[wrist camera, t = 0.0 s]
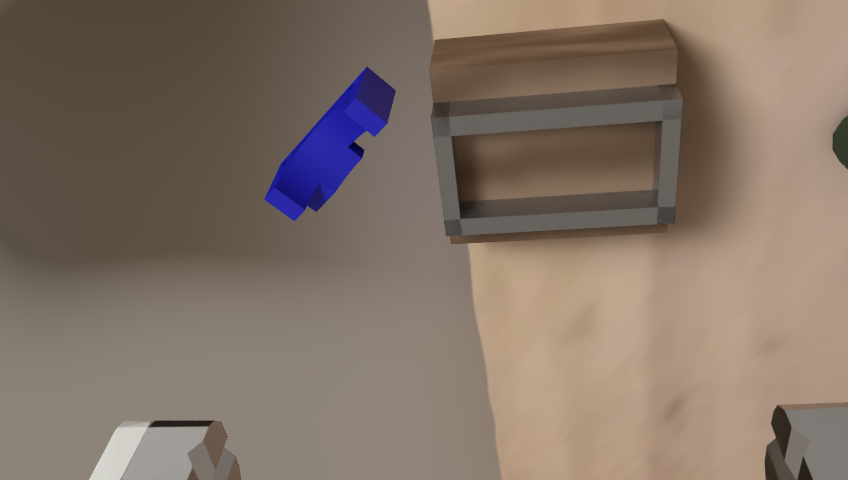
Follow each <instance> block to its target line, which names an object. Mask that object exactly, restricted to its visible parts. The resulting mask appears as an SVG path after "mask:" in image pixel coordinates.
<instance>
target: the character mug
mask: <svg viewBox="0 0 848 480" xmlns="http://www.w3.org/2000/svg"><path fill="white" fill-rule="evenodd" d="M833 151H834V153H835V154H836V156H837V158H838V159H839V161H840V162H841V163H842V164H843V165H844V166H845V167H846V168H847V169H848V116H847V117H845V118H844V119H843V120H842V122H841V123H840V125H839V126H838V128H837V129H836V131H835V132H834V134H833Z"/></svg>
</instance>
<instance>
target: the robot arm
mask: <svg viewBox="0 0 848 480" xmlns="http://www.w3.org/2000/svg"><path fill="white" fill-rule="evenodd" d="M771 425H772V428H773V431H774V433H775V436H776V438H775V439H774V440H773V441H772V442H770V443H769V444H768V445H767V448H766V455H765V478H766V480H848V402H843V403H816V404H789V405H777V407H776V408H775V410H774V411H773V416H772V421H771ZM227 437H228V436H227V433H226V431H225V429H224V427H223V424H222V422H220V421H215V420H211V421H209V420H201V421H200V420H197V421H194V420H189V421H188V420H186V421H185V420H183V421H181V420H175V421H174V420H171V421H170V420H166V421H165V420H157V421H156V420H155V421H125V422H124V423H122V424H121V425H120V426H119V427H118V428H117V429H116V430H115V432H114V434H113V436H112V438H111V440H110V442H109V443H108V445H107V447H106V449H105V451H104V453H103V455H102V456H101V458H100V460H99V462H98V464H97V466H96V468H95V470H94V472H93V474H92V475H91V477H90V479H89V480H241V476H240V468H239V464H238V462H237V459H236V456H235V455H234V454H232V453H231V452H229V451H228V450H227V449H225V448H224V445H225V443H226V440H227Z"/></svg>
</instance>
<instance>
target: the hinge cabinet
mask: <svg viewBox="0 0 848 480" xmlns="http://www.w3.org/2000/svg"><path fill="white" fill-rule="evenodd" d="M677 61H678V48H677V46H676V44H675V42H674V40H673V38H672V36H671V34H670V32H669V30H668V28H667V26H666V25H665V23H664V21H663V19H662V20H651V21H640V22H629V23H617V24H606V25H595V26H584V27H573V28H562V29H551V30H540V31H529V32H518V33H507V34H496V35H485V36H474V37H463V38H452V39H441V40H435V43H434V48H433V54H432V59H431V65H430V70H429V72H430V78H431V79H430V80H431V87H432V96H433V109H432V115H431V122H432V130H433V137H434V145H435V154H436V161H437V168H438V176H439V185H440V192H441V200H442V208H443V216H444V224H445V231H446V236H450V240H451V244H464V243H482V242H500V241H518V240H536V239H554V238H573V237H591V236H609V235H627V234H645V233H663V232H666V231H667V224H672V223H674V219H675V205H676V191H677V177H678V163H679V149H680V134H681V120H682V106H683V98H682V96H681V93H680V91H679V89H678V87H677V85H676V76H677Z"/></svg>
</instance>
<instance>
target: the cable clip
mask: <svg viewBox="0 0 848 480" xmlns="http://www.w3.org/2000/svg"><path fill="white" fill-rule="evenodd" d="M395 91H396V90H395V89H394V88H392V87H391V86H390V85H389V84H388V83H386V82H385V81H384V80H383V79H381V78H380V77H379V76H378V75H377V74H375V73H374V72H373V71H372V70H371V69H369V68H368V67H366V68H365V69H364V70H363V71H362V73H361V74H360V75H359V76H358V77H357V78H356V79H355V80H354V82H353V83H352V84H351V85H350V86H349V87H348V88H347V89H346V91H345V92H344V93H343V94H342V95H341V96H340V97H339V98H338V100H337V101H336V102H335V103H334V104H333V105H332V107H331V108H330V109H329V110H328V111H327V112H326V113H325V114H324V115H323V117H322V118H321V119H320V120H319V121H318V122H317V123H316V124H315V126H314V127H313V128H312V129H311V130H310V131H309V133H308V134H307V135H306V136H305V137H304V138H303V139H302V140H301V142H300V143H299V144H298V145H297V146H296V147H295V148H294V149H293V151H292V152H291V153H290V154H289V155H288V156H287V157H286V158H285V160H284V161H283V162H282V163H281V165H280V167H279V169H278V171H277V174H276V176H275V178H274V180H273V182H272V184H271V186H270V188H269V191H268V193H267V195H266V197H265V200H266V201H267V202H269V203H270V204H271V205H273V206H274V207H276V208H277V209H278V210H280V211H281V212H283V213H284V214H285V215H287V216H288V217H289V218H291V219H292V220H294V221H295V220H296V219H297V218H298V217H299V216H300V215H301V214H302V213H303V212H304V210H305V209H306V206H309V207H310V208H311V209H313V210H314V211H316V212H317V211H318V209H320V207H321V206H322V205H323V204H324V203H325V202H326V201H327V200H328V199H329V198H330V197H331V196H332V195H333V194H334V193H335V192H336V190H337V189H338V187H339V186H340V184H341V183H342V182H343V180H344V179H345V178H346V176H347V175H348V174H349V172H350V171H351V170H352V169H353V167H355V165H356V164H357V163H358V162H359V161H360V160H361V159H362V156H363V153H364V149H363V148H361V147H360V146H359V145H358V144H356V143H355V142H354V141H355V140H356V139H357V138H358V137H359V136H360V135H361V134H363V133H364V132H365V131H368V132H369V133H371V134H372V135H373V136H374V137H375V136H376V135H377V134H378V133H379V132H380V131H381V129H382V128H383V127H384V126H385V125H386V124H387V122H388V118H389V115H390V111H391V107H392V103H393V99H394V95H395Z"/></svg>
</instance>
